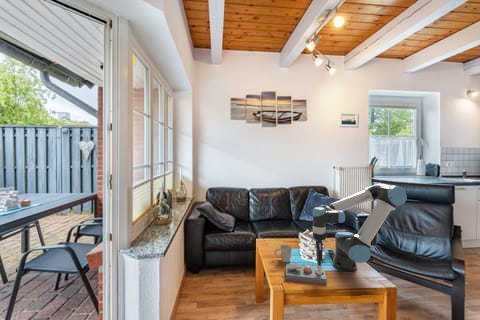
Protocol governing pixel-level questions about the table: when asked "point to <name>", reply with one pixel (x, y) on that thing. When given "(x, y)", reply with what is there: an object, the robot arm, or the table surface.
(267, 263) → the table surface
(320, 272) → the button cream
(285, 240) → the table surface
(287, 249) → the mug
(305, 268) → the button terracotta
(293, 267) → the rocker
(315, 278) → the panel
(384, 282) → the table surface
